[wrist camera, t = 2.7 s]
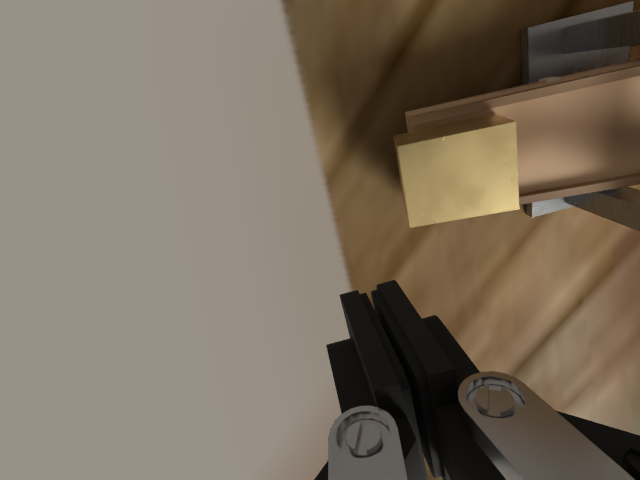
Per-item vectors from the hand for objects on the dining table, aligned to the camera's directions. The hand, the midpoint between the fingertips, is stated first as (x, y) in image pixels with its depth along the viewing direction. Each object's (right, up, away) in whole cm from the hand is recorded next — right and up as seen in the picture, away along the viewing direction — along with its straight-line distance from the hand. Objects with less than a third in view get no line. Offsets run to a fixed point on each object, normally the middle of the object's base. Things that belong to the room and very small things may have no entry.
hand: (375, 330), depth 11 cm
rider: (+6, +7, +13) cm, 16 cm away
